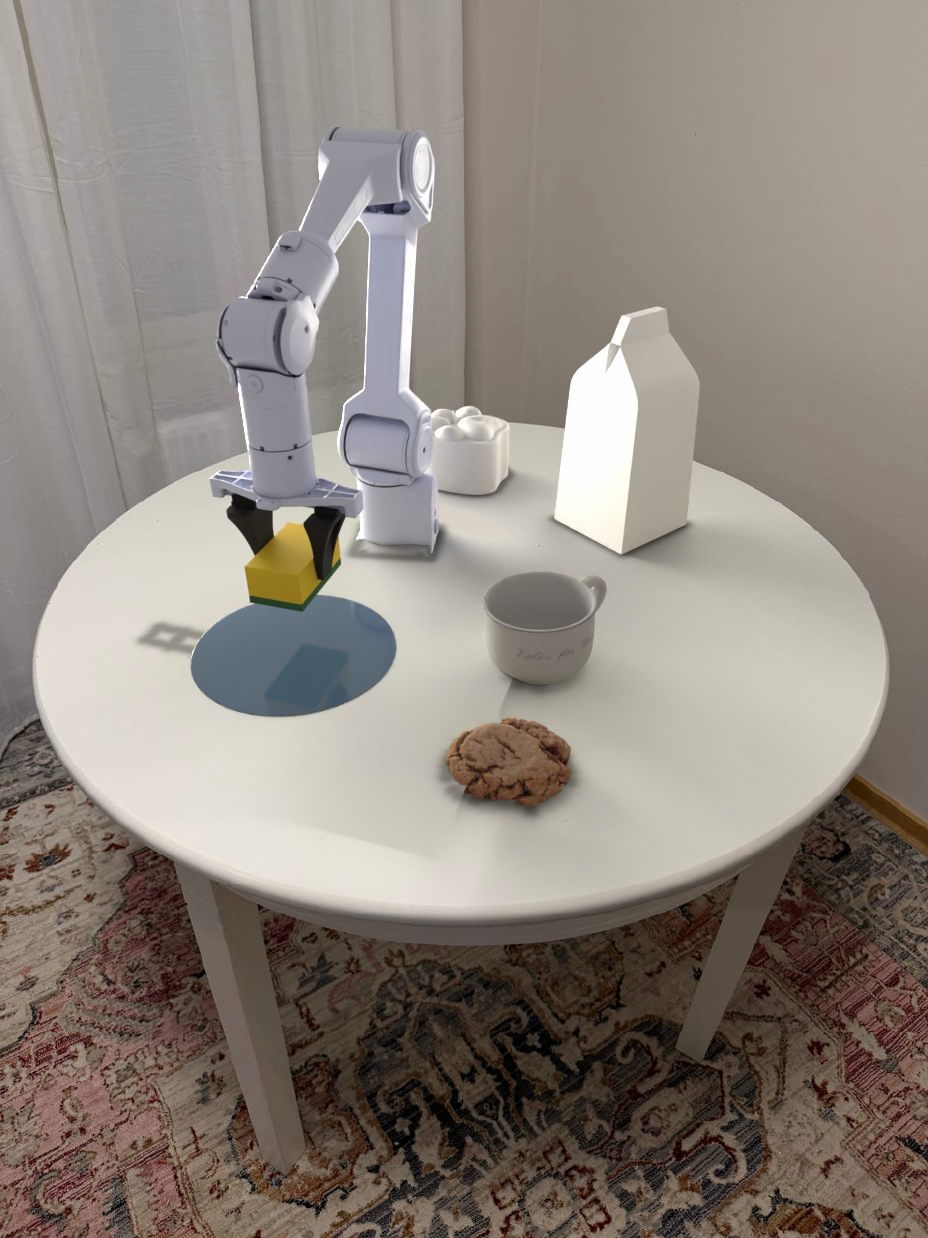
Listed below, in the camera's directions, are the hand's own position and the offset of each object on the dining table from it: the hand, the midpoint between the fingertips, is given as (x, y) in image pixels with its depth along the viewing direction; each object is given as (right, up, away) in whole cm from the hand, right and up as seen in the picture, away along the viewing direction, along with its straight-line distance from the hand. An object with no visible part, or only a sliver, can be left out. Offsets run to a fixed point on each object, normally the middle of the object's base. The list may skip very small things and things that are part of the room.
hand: (295, 569), depth 86 cm
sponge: (0, -1, +1) cm, 1 cm away
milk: (+36, +7, +26) cm, 45 cm away
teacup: (+25, -9, +2) cm, 27 cm away
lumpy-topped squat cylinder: (+16, +15, +37) cm, 43 cm away
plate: (0, -9, +2) cm, 9 cm away
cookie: (+20, -18, -11) cm, 29 cm away
